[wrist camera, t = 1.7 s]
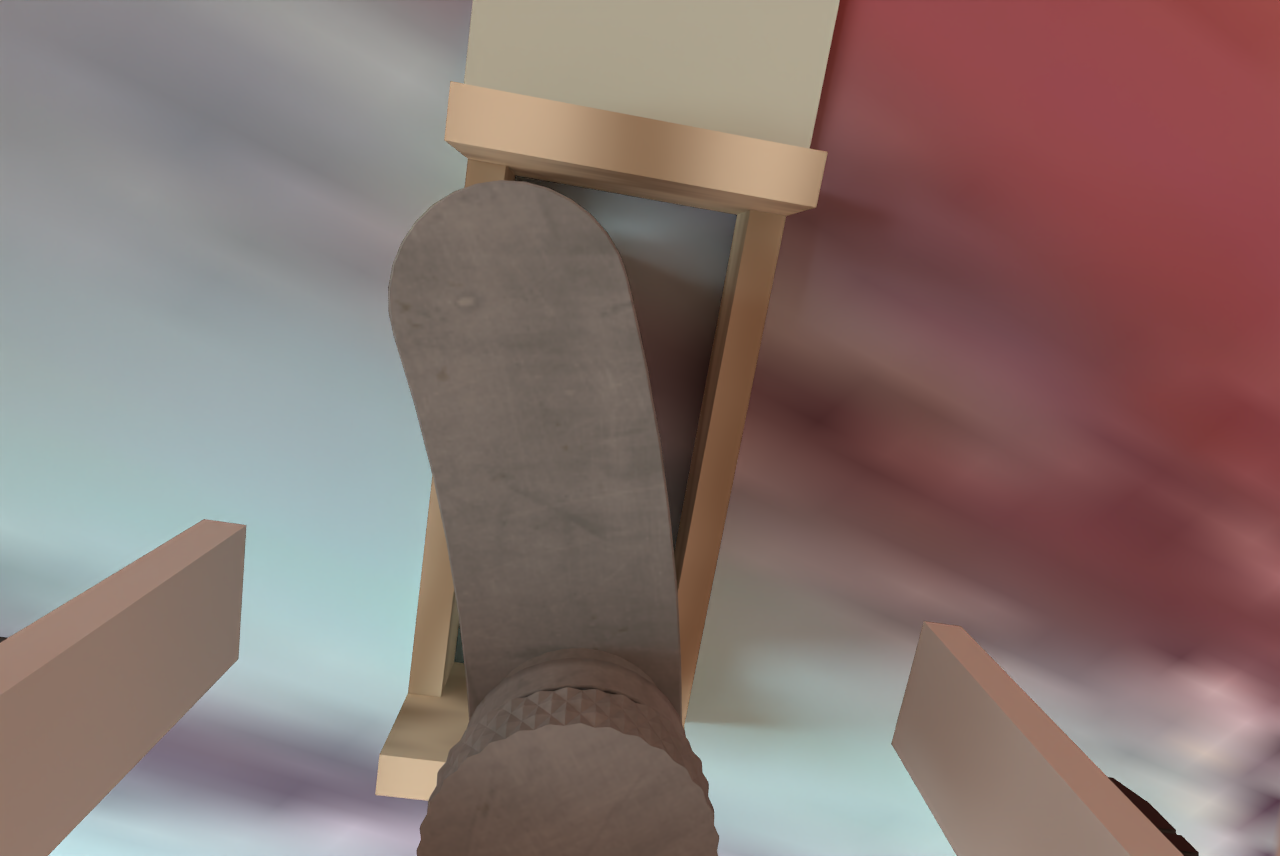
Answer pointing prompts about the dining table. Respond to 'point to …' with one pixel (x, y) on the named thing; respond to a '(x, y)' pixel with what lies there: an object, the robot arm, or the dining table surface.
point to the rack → (761, 198)
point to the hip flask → (548, 534)
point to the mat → (663, 59)
